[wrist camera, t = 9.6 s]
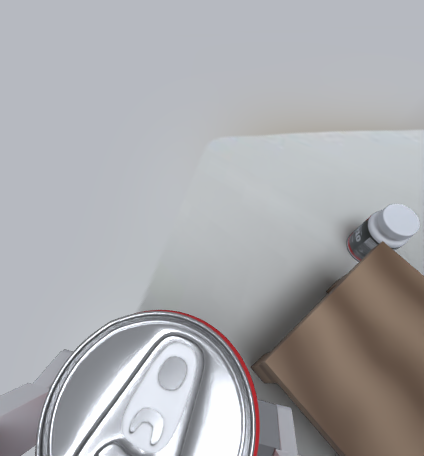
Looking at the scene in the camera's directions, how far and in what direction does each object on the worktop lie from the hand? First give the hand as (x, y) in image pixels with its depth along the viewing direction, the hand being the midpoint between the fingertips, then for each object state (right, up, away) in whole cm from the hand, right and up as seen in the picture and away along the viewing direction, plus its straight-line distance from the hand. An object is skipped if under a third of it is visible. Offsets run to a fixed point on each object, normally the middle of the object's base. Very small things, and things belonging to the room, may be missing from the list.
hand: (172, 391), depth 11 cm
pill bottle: (+21, +3, +31) cm, 38 cm away
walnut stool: (+16, -10, +24) cm, 30 cm away
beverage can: (-1, -4, +7) cm, 8 cm away
